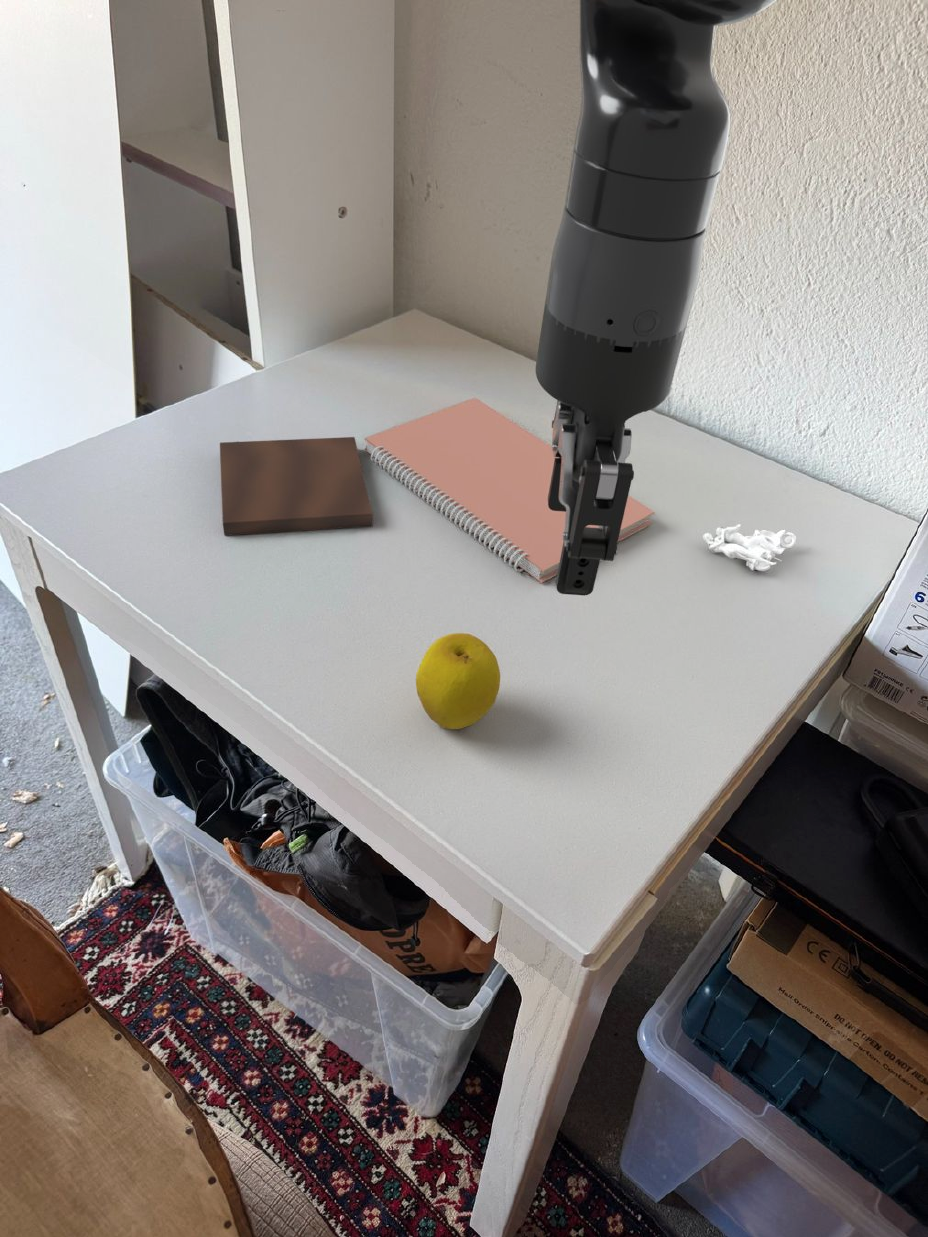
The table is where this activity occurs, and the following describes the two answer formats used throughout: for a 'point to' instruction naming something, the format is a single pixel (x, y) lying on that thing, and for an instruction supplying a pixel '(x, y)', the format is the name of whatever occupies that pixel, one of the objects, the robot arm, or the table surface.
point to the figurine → (751, 545)
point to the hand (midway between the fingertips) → (567, 547)
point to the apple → (458, 680)
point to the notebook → (487, 481)
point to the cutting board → (292, 486)
